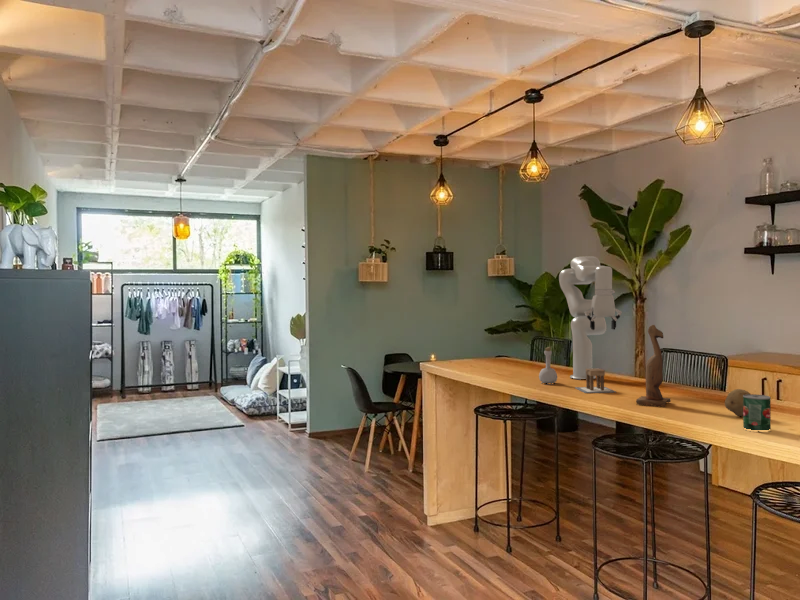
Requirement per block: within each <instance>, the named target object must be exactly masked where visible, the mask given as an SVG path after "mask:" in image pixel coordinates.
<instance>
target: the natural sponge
mask: <svg viewBox="0 0 800 600" xmlns="http://www.w3.org/2000/svg"><path fill="white" fill-rule="evenodd" d="M747 394H751V393H750V392H749V391H748V390H745V389H741V388H737V389H734V390H732V391H730V392H729V393H728V394H727V396H726V397H725V401H724V406H725V408H726V409H727V410H728V411H729V412H732V413H733V414H734V415H735V416H737V417H739V416H743V395H747Z"/></svg>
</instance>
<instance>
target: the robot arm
mask: <svg viewBox="0 0 800 600" xmlns="http://www.w3.org/2000/svg"><path fill="white" fill-rule="evenodd" d="M558 281H559V287H560V289H561V291H562V292H563V294H564V296H565V298H566V302H567V305H568V309H569V313H570V315H571V317H573V318H572V319H571V322H570V328H571V333H572V334H571V335H572V370H573V371H572V373H573V374H571V375H569V378H570V379H572V378H573V380H581V379H586V369H593V343H592V341H591V339H590V338H589V337H588V336H600V335H604V334H605V333H606V332H607V323H606V319H605V318H611V319H612V320H611V323H610V324H611V325H610V326H611V328H610V329H611V330H613V331H615V330H616V328H617V321H618V320H619V319H620V317H621V315H622V313H623V311H622V310H620V309H618V308H616V305H615V300H614V295H613V294H615V292H616V291H615V290H614V289H613V268H612V267H611V266H605V265H601V262H600V259H599V258H598V257H597V256H592V255H590V256H589V255H587V256H585V255H584V256H577V257H573V258H572V260H571V261H570V268H565V269H563V270H561V271H560V272H559V275H558ZM593 282H594V295H593V296H592V299H586V298H584V296H583V292H582V291H581V290H580V289H579V288H578V287H577V286H576V285H590V284H592V283H593ZM616 313H617V314H616ZM595 379H597V376H594V380H595Z"/></svg>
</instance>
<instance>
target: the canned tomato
mask: <svg viewBox="0 0 800 600" xmlns="http://www.w3.org/2000/svg"><path fill="white" fill-rule="evenodd" d="M771 403H772V402H771V396H769V395H764V394H754V393H752V394H751V393H750V394H747V395H743V417H742V419H743V422H742V423H743V424H742V425H743V426H742V427H744V428H746V429H751V430H769V429H771V427H772V426H771V418H772V417H771V405H772V404H771ZM771 430H772V429H771Z"/></svg>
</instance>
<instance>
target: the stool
mask: <svg viewBox="0 0 800 600" xmlns="http://www.w3.org/2000/svg"><path fill="white" fill-rule="evenodd" d="M605 371H606V370H605V369H602V368H592V369H586V380H585V381H586V386H585V387H586V388H587V389H590V390H594V387H595V384H594V382H595V381H594V380H595V379H594V376H596V387H597V388H598V389H599V388H600V387H601V390H604V387H605V374H606V373H605Z"/></svg>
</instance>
